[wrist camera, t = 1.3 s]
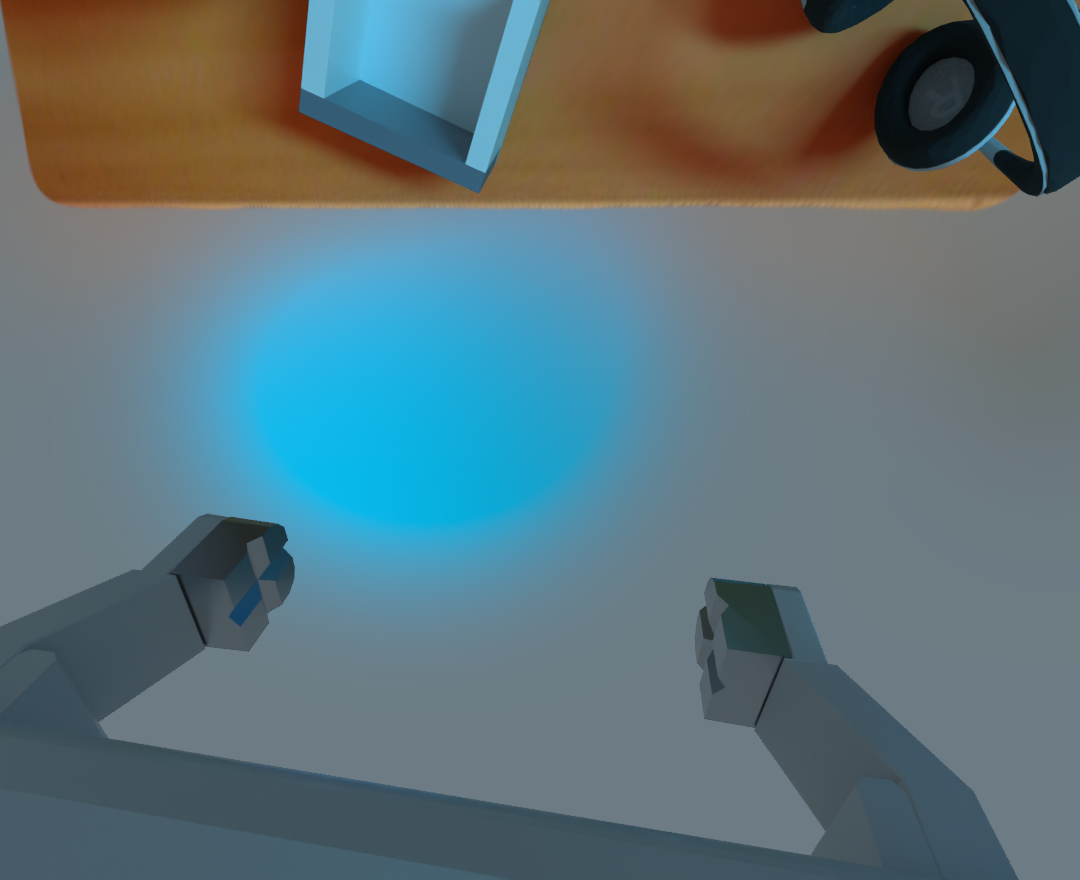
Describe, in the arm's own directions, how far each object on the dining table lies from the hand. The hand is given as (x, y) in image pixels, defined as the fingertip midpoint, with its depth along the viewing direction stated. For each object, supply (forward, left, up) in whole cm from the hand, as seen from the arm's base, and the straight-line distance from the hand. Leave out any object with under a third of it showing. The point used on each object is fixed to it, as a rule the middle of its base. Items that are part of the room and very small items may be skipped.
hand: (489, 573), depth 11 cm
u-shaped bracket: (+1, -11, -43) cm, 44 cm away
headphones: (-12, +17, -43) cm, 48 cm away
